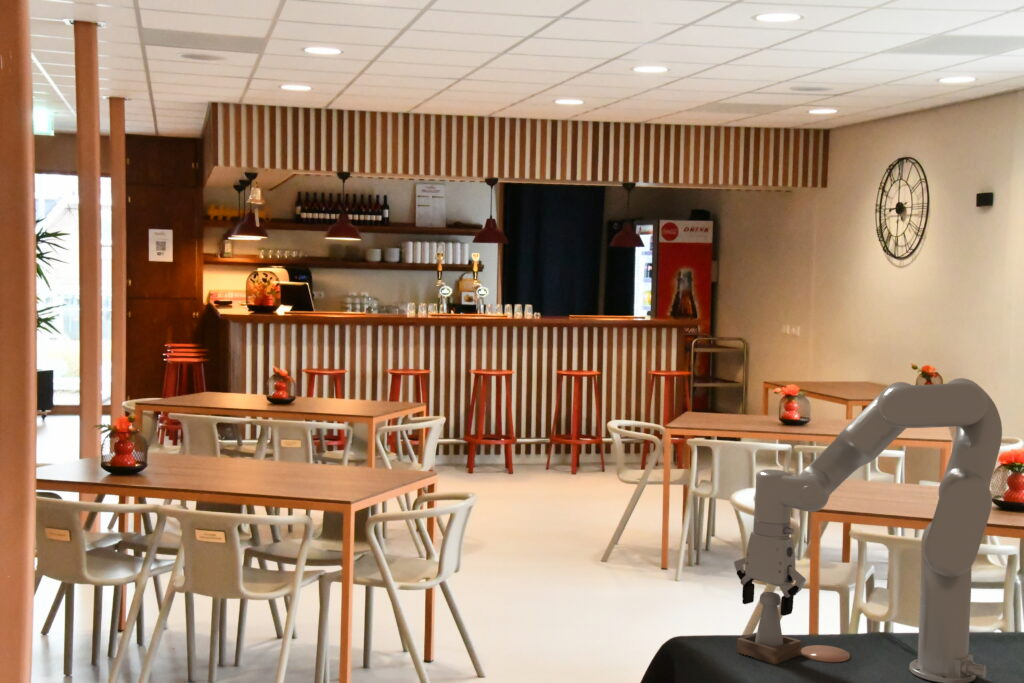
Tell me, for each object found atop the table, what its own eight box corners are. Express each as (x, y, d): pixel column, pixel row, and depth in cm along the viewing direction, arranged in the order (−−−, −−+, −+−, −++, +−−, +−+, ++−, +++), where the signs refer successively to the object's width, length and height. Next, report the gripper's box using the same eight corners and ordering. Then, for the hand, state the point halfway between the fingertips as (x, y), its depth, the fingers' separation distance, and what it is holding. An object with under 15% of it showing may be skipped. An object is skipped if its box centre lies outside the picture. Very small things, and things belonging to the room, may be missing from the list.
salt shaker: (760, 647, 245) (761, 588, 245) (786, 652, 242) (788, 592, 242) (751, 654, 240) (752, 594, 240) (777, 659, 237) (779, 598, 237)
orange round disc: (859, 655, 241) (859, 653, 241) (833, 665, 234) (833, 663, 234) (818, 644, 248) (818, 642, 248) (791, 653, 242) (791, 651, 242)
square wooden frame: (801, 654, 241) (801, 640, 241) (774, 664, 235) (774, 649, 234) (763, 643, 248) (763, 630, 248) (736, 652, 242) (736, 638, 242)
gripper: (817, 535, 236) (812, 616, 237) (748, 519, 249) (743, 596, 250) (796, 539, 231) (791, 622, 232) (727, 523, 244) (722, 601, 245)
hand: (766, 608), depth 241 cm, fingers open, 9 cm apart
